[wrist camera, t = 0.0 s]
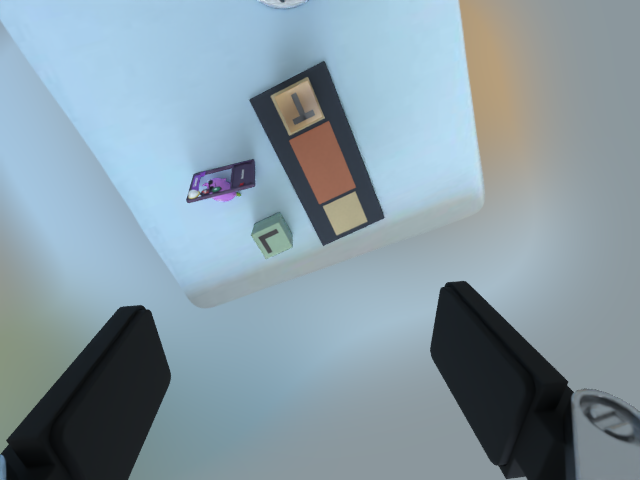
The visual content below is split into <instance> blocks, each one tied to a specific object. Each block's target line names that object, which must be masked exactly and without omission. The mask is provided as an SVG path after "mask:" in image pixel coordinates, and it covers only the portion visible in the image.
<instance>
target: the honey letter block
mask: <svg viewBox="0 0 640 480" xmlns="http://www.w3.org/2000/svg"><path fill="white" fill-rule="evenodd" d="M274 98H275V100H276V102H277V105H278V107H279V109H280V111H281V113H282V115H283V117H284V119H285V122H286V124H287V126H288V128H289V130H290V132H291V133H293V132H295V131H297V130H299V129H301V128H303V127H305V126H307V125H309V124H311V123H313V122H315V121H317V120H319V119H321V118H323V115H322V112H321V110H320V107H319V105H318V102H317V100H316V98H315V95H314V93H313V90H312V88H311V85H310V83H309V81H308V80H306V81H304V82H302V83H300V84H298V85H296V86H294V87H292V88H290V89H288V90H287V91H285V92H283V93H281V94H279V95H277V96H275V97H274Z"/></svg>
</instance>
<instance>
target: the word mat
mask: <svg viewBox="0 0 640 480" xmlns="http://www.w3.org/2000/svg"><path fill="white" fill-rule="evenodd" d="M306 80H308V81H309V83H310V85H311V88H312V90H313V93H314V95H315V98H316V100H317V102H318V105H319V107H320V110H321V112H322V115H323V118H321V119H319V120H317V121H315V122H313V123H311V124H309V125H307V126H305V127H303V128H301V129H299V130H297V131H295V132H293V133H291V132H290V130H289V128H288V126H287V124H286V122H285V119H284V117H283V115H282V113H281V111H280V109H279V107H278V105H277V102H276V100H275V98H274V97H275V96H277V95H279V94H281V93H283V92H285V91H287V90H288V89H290V88H292V87H294V86H296V85H298V84H300V83H302V82H304V81H306ZM250 102H251V104H252V106H253V108H254V110H255V112H256V114H257V116H258V118H259V120H260V122H261V124H262V126H263V128H264V130H265V132H266V134H267V136H268V138H269V140H270V142H271V144H272V146H273V148H274V150H275V152H276V154H277V156H278V158H279V160H280V162H281V164H282V165H283V167H284V169H285V171H286V173H287V175H288V177H289V179H290V181H291V183H292V185H293V187H294V189H295V191H296V193H297V195H298V197H299V199H300V201H301V203H302V205H303V207H304V209H305V211H306V213H307V215H308V217H309V219H310V221H311V223H312V225H313V227H314V229H315V231H316V233H317V235H318V237H319V239H320V241H321V243H322V245H323V246H324V245H326V244H328V243H330V242H333V241H335V240H337V239H339V238H341V237H344V236H346V235H348V234H350V233H353V232H355V231H357V230H359V229H361V228H364V227H366V226H368V225H370V224H372V223H375V222H377V221H379V220H381V219H383V218H384V215H383V212H382V210H381V207H380V205H379V202H378V199H377V197H376V194H375V192H374V189H373V186H372V184H371V181H370V178H369V176H368V173H367V171H366V168H365V165H364V163H363V160H362V158H361V155H360V152H359V150H358V147H357V144H356V142H355V139H354V137H353V134H352V131H351V129H350V126H349V124H348V121H347V118H346V116H345V113H344V110H343V108H342V105H341V103H340V100H339V97H338V95H337V92H336V90H335V87H334V84H333V82H332V79H331V76H330V74H329V71H328V69H327V66H326V63H325V61H323V62H321V63H320V64H318V65H316V66H314V67H312V68H310V69H308V70H306V71H304V72H302V73H300V74H298V75H296V76H294V77H292V78H290V79H289V80H287V81H285V82H283V83H281V84H279V85H277V86H275V87H273V88H271V89H269V90H267V91H265V92H263V93H261V94H259V95H258V96H256V97H254V98H252V99H250Z"/></svg>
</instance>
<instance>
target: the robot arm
mask: <svg viewBox="0 0 640 480" xmlns="http://www.w3.org/2000/svg"><path fill="white" fill-rule="evenodd" d="M257 1H259V2H261V3H263V4H264V5H267V6H270V7H274V8H282V9H287V8H293V7H297V6H299V5H301V4H303V3H305V2H307V1H308V0H285V2H281V0H257ZM430 352H431V356H432V359H433V361H434V363H435V364H436V366H437V368H438V369H439V371H440V373H441V375H442V377H443V378H444V380H445V382H446V384H447V386H448V387H449V389H450V391H451V393H452V394H453V396H454V398H455V399H456V401H457V403H458V405H459V407H460V408H461V410H462V412H463V413H464V415H465V417H466V419H467V421H468V422H469V424H470V426H471V428H472V429H473V431H474V433H475V435H476V436H477V438H478V440H479V442H480V444H481V445H482V447H483V448H484V450H485V452H486V454H487V456H488V458H489V459H490V461H491V462H492V463H493V464H494V465H498V466H499V467H500V469H501V471H502V473H503V474H504V476H505V478H506V479H510V478H518V477H525V476H526V477H527V479H528V480H640V411H638V410H637V409H636V408H635V407H633V406H632V405H630V404H628V403H627V402H625V401H623V400H622V399H620V398H618V397H615V396H613V395H611V394H609V393H606V392H602V391H599V390H595V389H581V390H577V391H576V392H573V391H572V390H571V389H570V388H569V387H568V386H567V384H568V381H567V380H566V379H565V378H564V377H563V376H562V375H561V374H560V373H559V372H558V371H557V370H556V369H555V368H554V367H553V366H552V365H551V364H550V363H549V362H548V361H546V359H545V358H544V357H543V356H542V355H540V353H539V352H537V350H536V349H534V348H533V347H532V346H531V345H530V344H529V343H528V342H527V341H526V340H525V339H524V338H523V337H522V336H521V335H520V334H519V333H518V332H517V331H516V330H515V329H514V328H513V327H512V326H511V325H510V324H509V323H508V322H507V321H506V320H505V319H504V318H503V317H502V316H501V315H500V314H499V313H498V312H497V311H496V310H495V309H494V308H493V307H492V306H491V305H489V304H488V302H487V301H486V300H485V299H484V298H483V297H482V296H481V295H480V294H478V293H477V292H476V291H475V290H474V289H473V288H472V287H471V286H470V285H469V284H468V283H467V282H466V281H459V282H448V283H446V284H445V287H442V288H441V289H440V294H439V299H438V306H437V311H436V317H435V323H434V329H433V336H432V341H431V348H430ZM170 379H171V373H170V369H169V366H168V363H167V360H166V357H165V354H164V350H163V347H162V344H161V341H160V338H159V335H158V332H157V328H156V325H155V322H154V319H153V316H152V313H151V311H150V310H146V309H145V307H144V306H142V305H138V306H126V307H120V308H119V309H118V310H117V311H116V312H115V313H114V315H113V316H112V317H111V318H110V319H109V320H108V322H107V323H106V324H105V325H104V326H103V328H102V329H101V330H100V331H99V332H98V333H97V335H96V336H95V337H94V338H93V339H92V340H91V342H90V343H89V344H88V345H87V346H86V348H85V349H84V350H83V351H82V352H81V353H80V354H79V356H78V357H77V358H76V359H75V360H74V362H73V363H72V364H71V365H70V366H69V367H68V369H67V370H66V371H65V372H64V373H63V374H62V376H61V377H60V378H59V379H58V380H57V381H56V383H55V384H54V385H53V386H52V387H51V388H50V390H49V391H48V392H47V393H46V394H45V396H44V397H43V398H42V399H41V400H40V401H39V403H38V404H37V405H36V406H35V407H34V408H33V410H32V411H31V412H30V413H29V414H28V415H27V417H26V418H25V419H24V420H23V421H22V423H21V424H20V425H19V426H18V427H17V428H16V430H15V431H14V432H13V433H12V434H11V436H10V437H9V438H8V439H7V440H6V441H7V442H8V443H9V445H8V446H7V447H6V448H5V450H4V451H3V452H2V453H1V454H0V480H128V478H129V476H130V474H131V471H132V469H133V467H134V464H135V462H136V460H137V457H138V455H139V453H140V451H141V448H142V446H143V444H144V441H145V439H146V437H147V435H148V432H149V430H150V428H151V425H152V423H153V421H154V418H155V416H156V414H157V412H158V409H159V407H160V404H161V402H162V400H163V398H164V395H165V393H166V391H167V389H168V386H169V384H170Z"/></svg>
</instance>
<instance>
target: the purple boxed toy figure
mask: <svg viewBox="0 0 640 480" xmlns="http://www.w3.org/2000/svg"><path fill="white" fill-rule="evenodd" d="M231 168H232V174H231V183H229V182H227V181H225V180H226V178H224V179H221V178H214V179H210V181H209V180H207V181H208V182H209V183H205V184H203V185H202V186H207V189H206V190H203V191H202V192H201V193H200V192H199V182H200V178H201V177H202V176H204V175H207V174H211V173H215V172H219V171H223V170H227V169H231ZM254 186H255V161H254V159H252V160H248V161H244V162H240V163H236V164H232V165H228V166H224V167H220V168H216V169H212V170H208V171H204V172H200V173H196V174H194V175H193V178H192V182H191V185H190V189H189V192H188V196H187V199H186V201H187V202H188V203H191V202H195V201H199V200H203V199H207V198H213V199H214V200H216V201H220V202H225V201H230V200H232V199H233V198H234V197H235V196H241V194H240V193H238V192H236V191H239V190H244V189H248V188H252V187H254ZM199 195H201V196H200V197H198V196H199Z"/></svg>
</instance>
